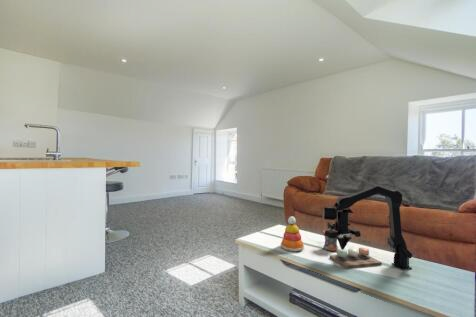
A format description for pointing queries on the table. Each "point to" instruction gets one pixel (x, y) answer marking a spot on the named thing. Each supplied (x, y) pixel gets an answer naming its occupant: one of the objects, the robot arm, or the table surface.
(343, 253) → the sage button
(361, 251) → the terracotta button
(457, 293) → the table surface
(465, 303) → the table surface
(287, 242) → the stacking toy
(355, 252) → the cream button
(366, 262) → the button board
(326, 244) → the mug
